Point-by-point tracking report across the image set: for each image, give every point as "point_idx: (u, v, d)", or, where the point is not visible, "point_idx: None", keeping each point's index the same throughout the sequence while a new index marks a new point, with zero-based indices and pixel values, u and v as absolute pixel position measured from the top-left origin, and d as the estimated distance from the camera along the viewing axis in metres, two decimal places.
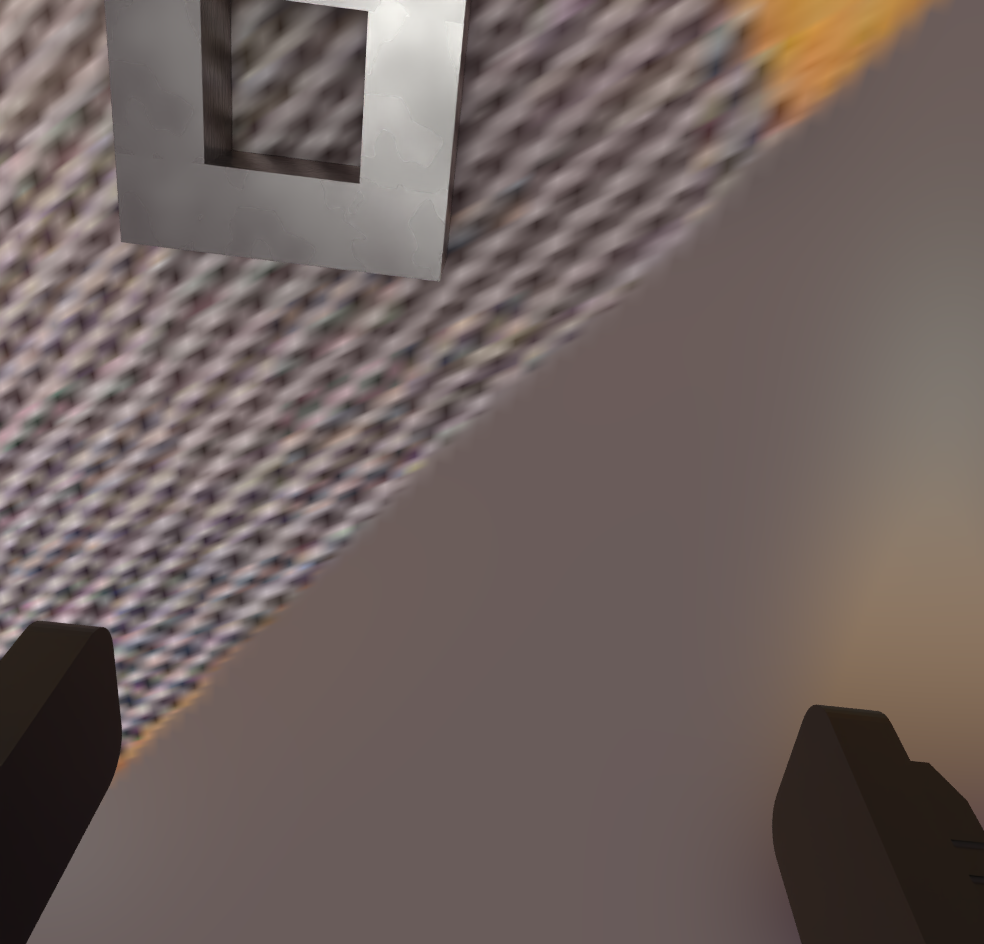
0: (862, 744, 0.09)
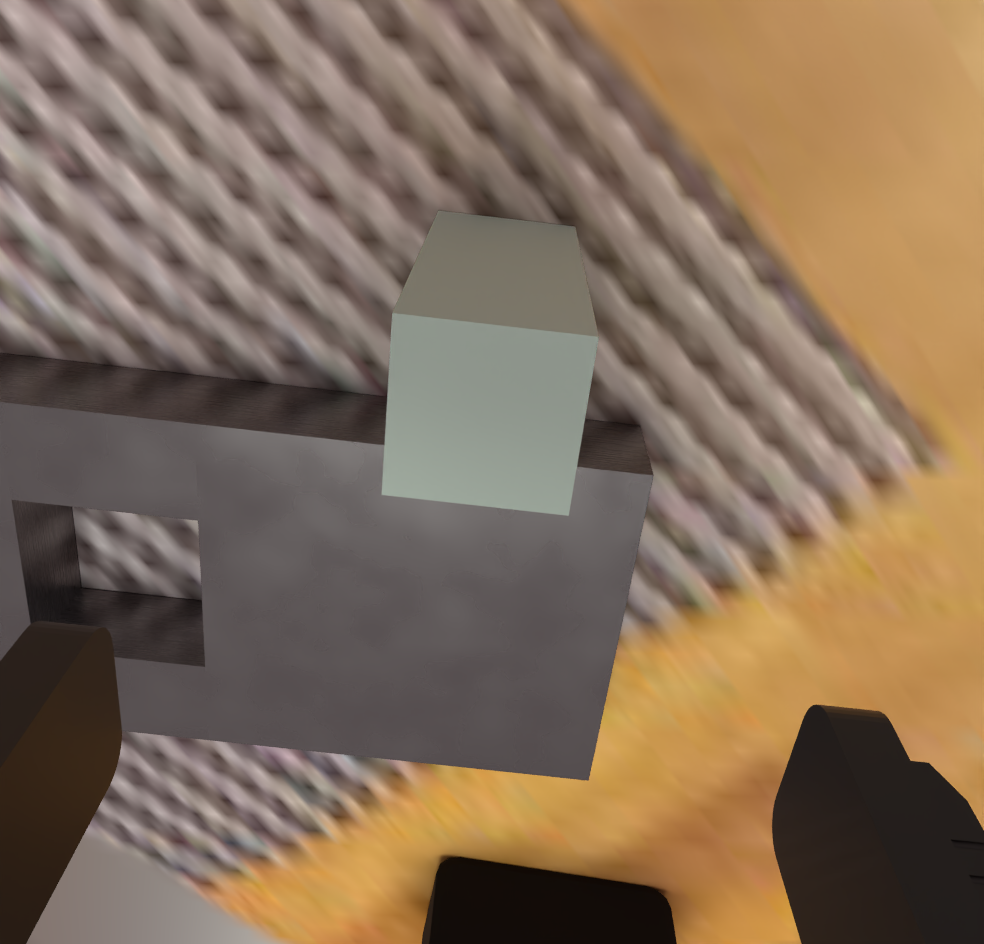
0: (862, 744, 0.09)
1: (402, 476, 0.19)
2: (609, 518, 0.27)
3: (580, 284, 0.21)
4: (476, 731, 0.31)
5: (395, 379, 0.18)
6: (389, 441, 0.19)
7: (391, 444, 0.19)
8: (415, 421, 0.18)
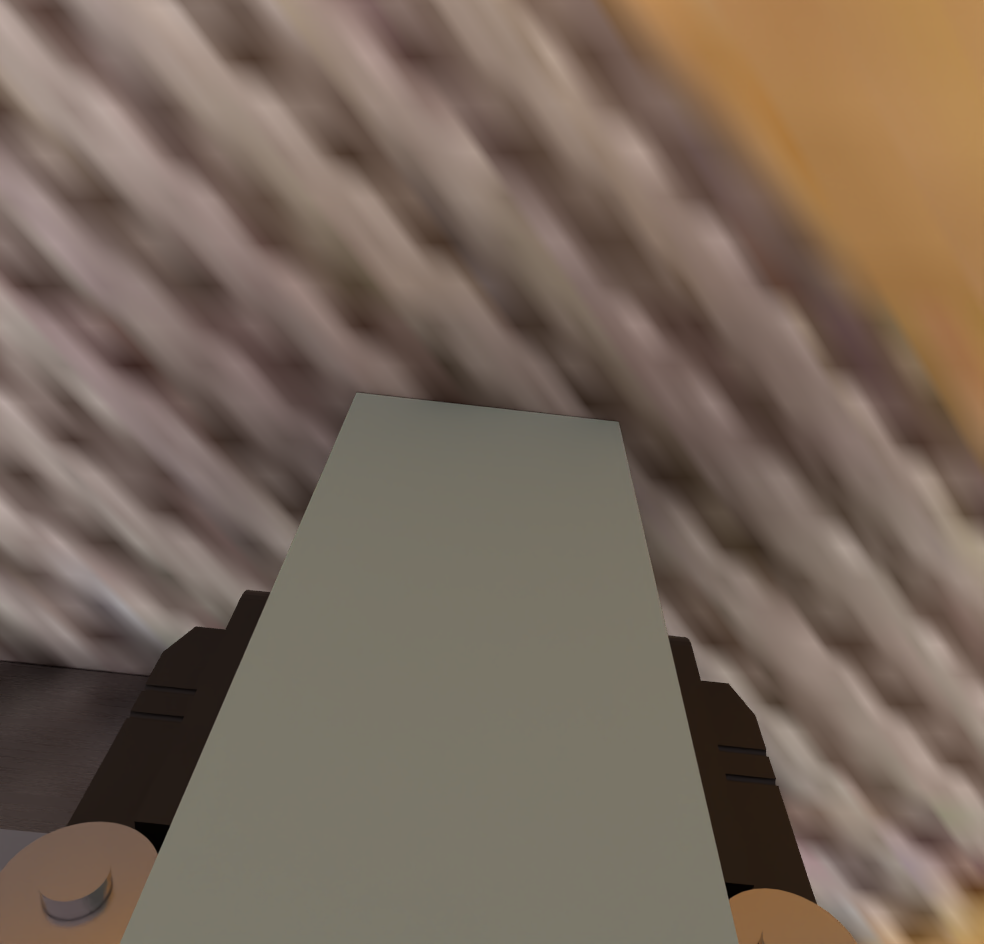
0: None
1: None
2: None
3: (666, 706, 0.08)
4: None
5: None
6: None
7: None
8: None
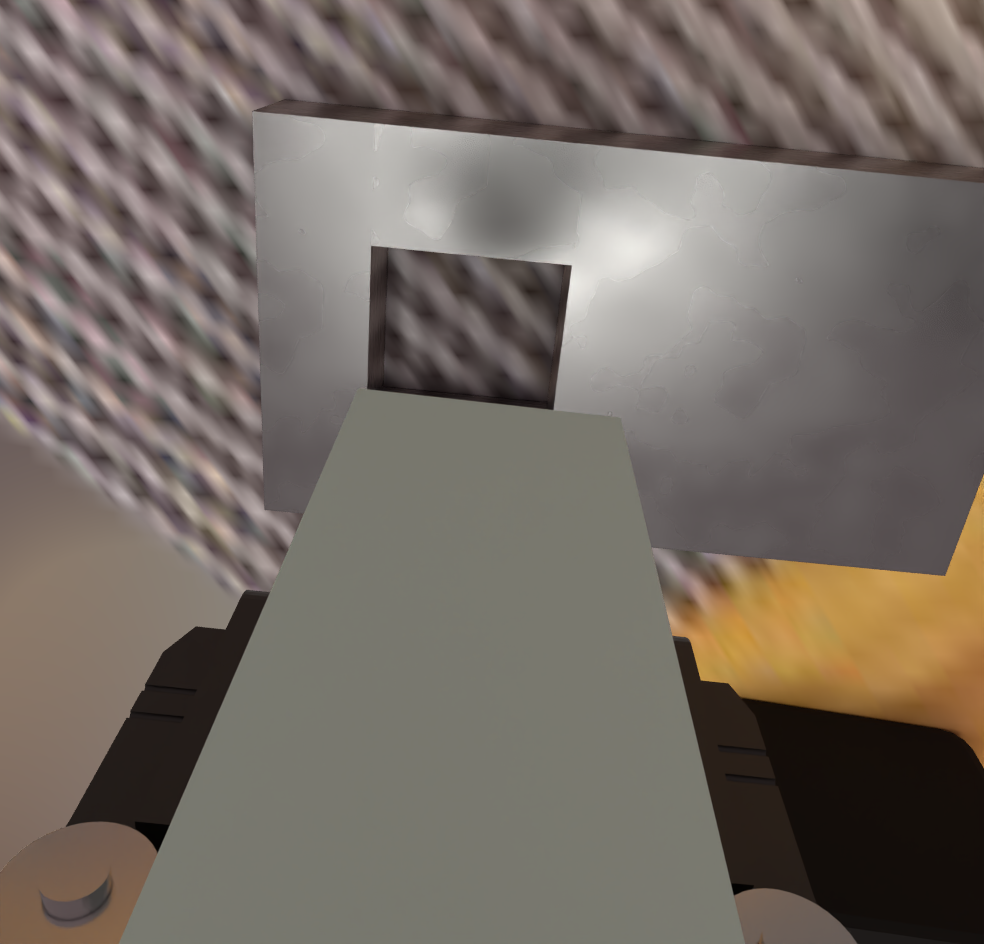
0: None
1: None
2: None
3: (669, 700, 0.08)
4: (831, 519, 0.28)
5: None
6: None
7: None
8: None
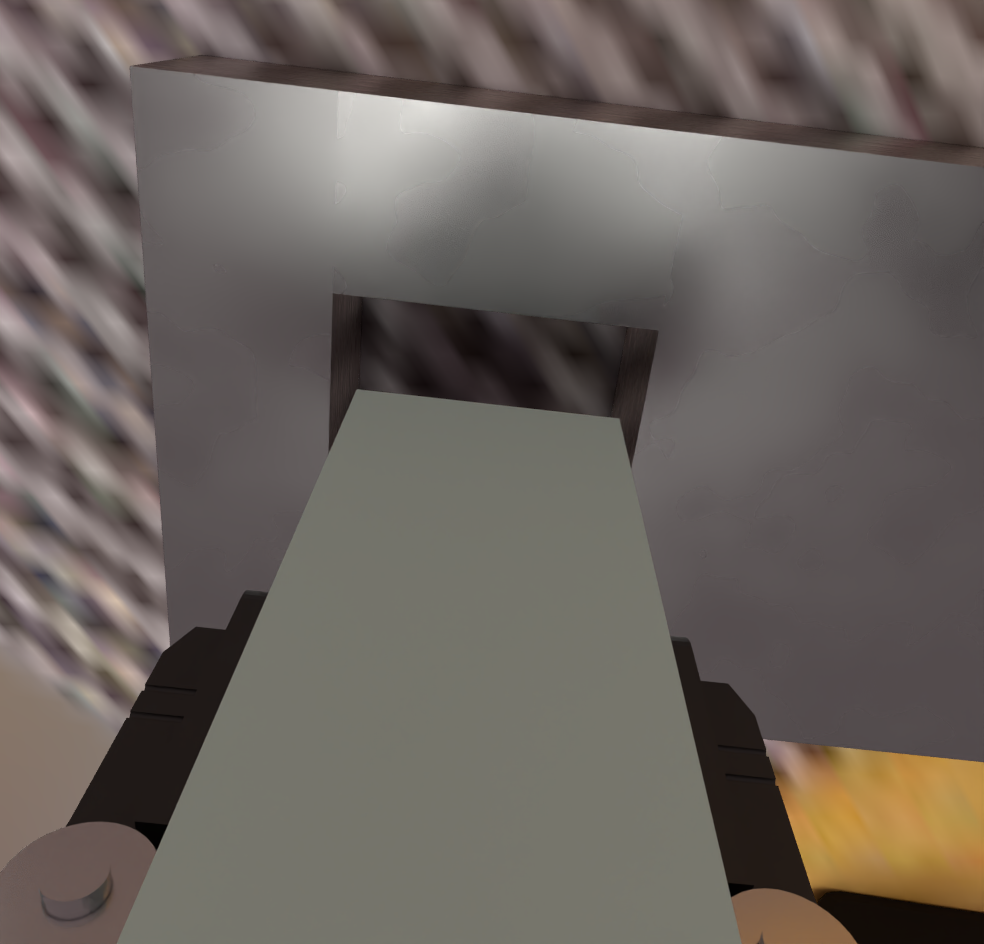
0: None
1: None
2: None
3: (667, 701, 0.08)
4: None
5: None
6: None
7: None
8: None
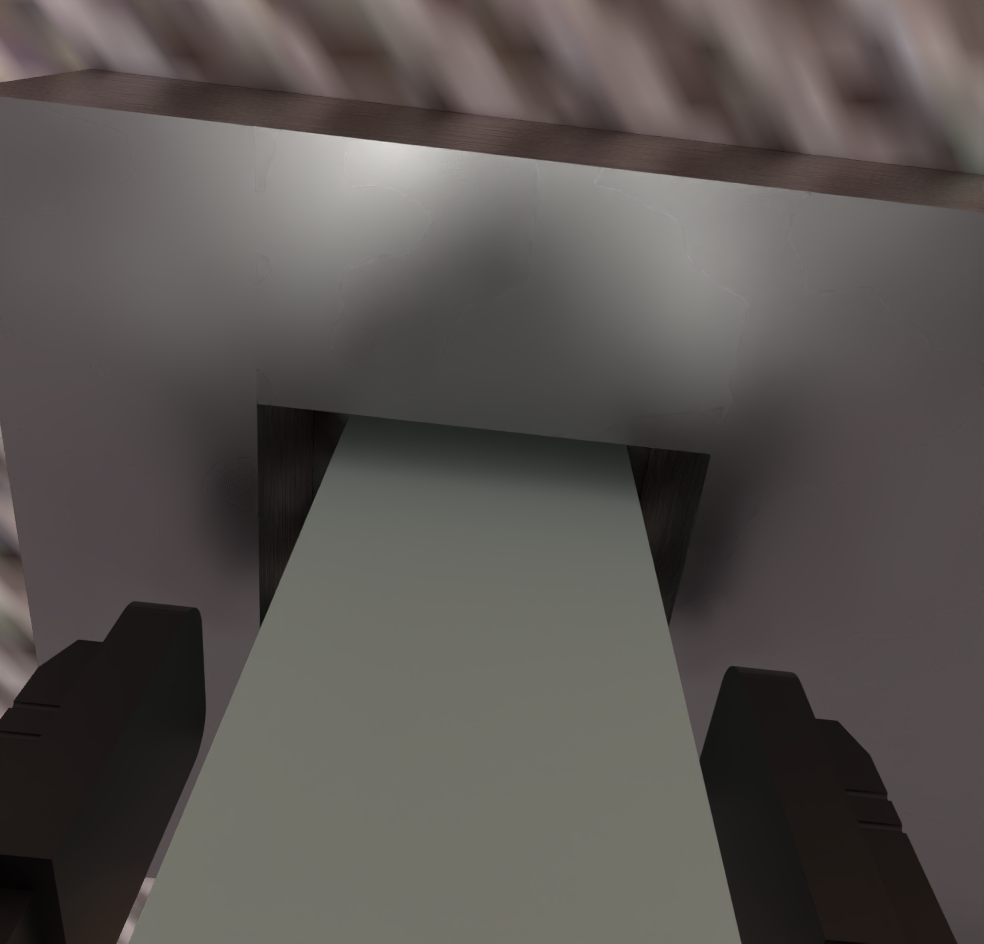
0: (770, 701, 0.10)
1: None
2: None
3: (655, 642, 0.09)
4: None
5: None
6: None
7: None
8: None
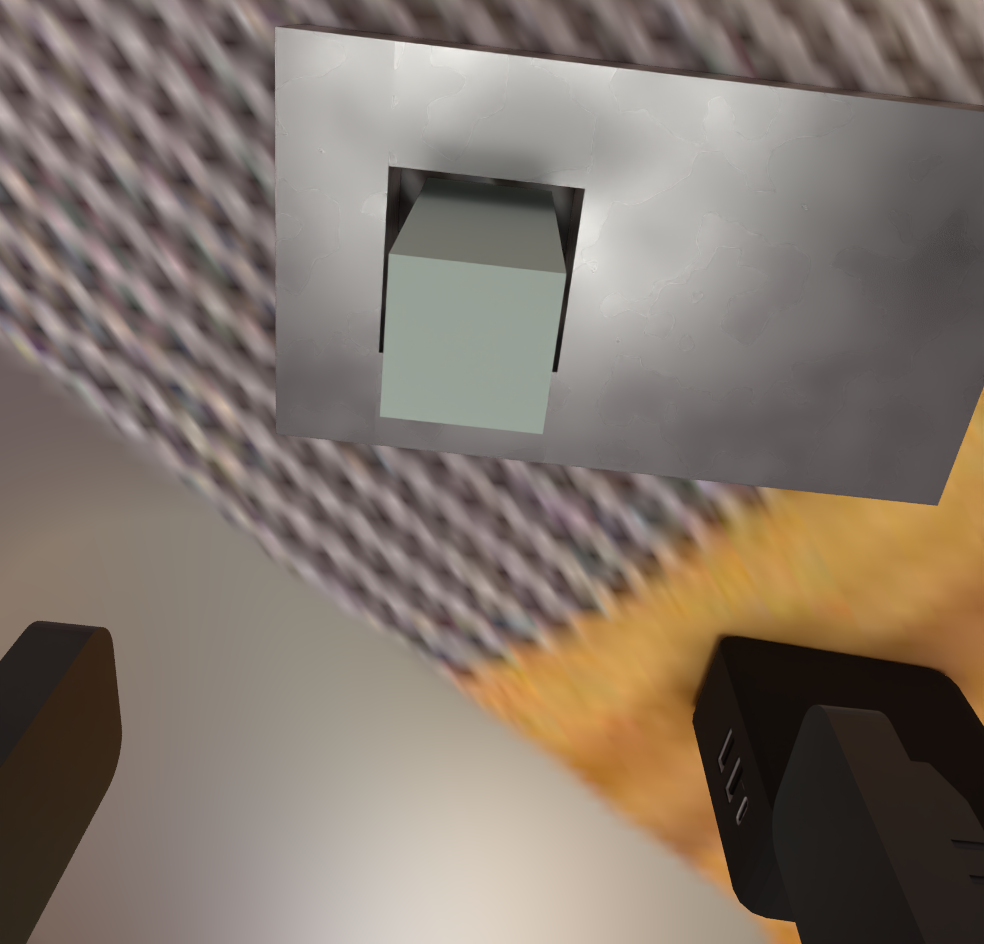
0: (862, 744, 0.09)
1: (398, 399, 0.22)
2: None
3: (553, 235, 0.24)
4: (830, 447, 0.29)
5: (391, 312, 0.21)
6: (386, 368, 0.22)
7: (388, 370, 0.22)
8: (409, 350, 0.21)
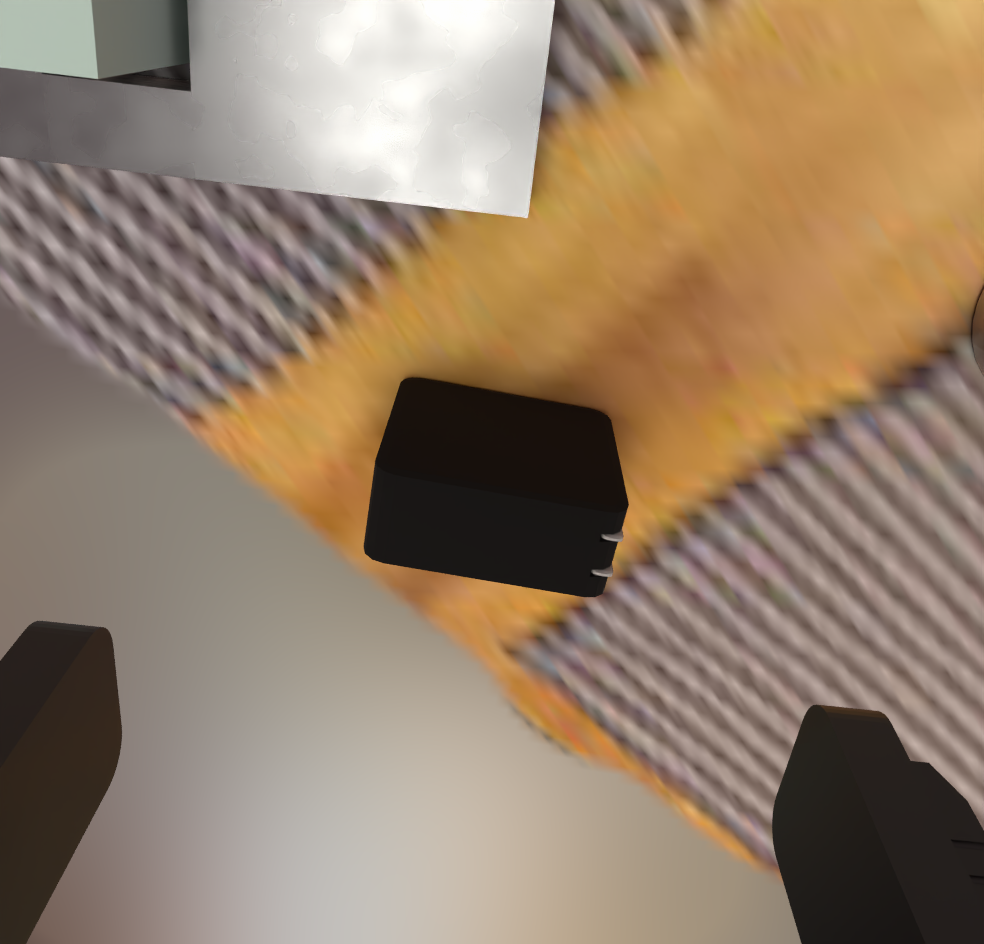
0: (862, 744, 0.09)
1: None
2: None
3: None
4: (428, 162, 0.35)
5: None
6: None
7: None
8: None
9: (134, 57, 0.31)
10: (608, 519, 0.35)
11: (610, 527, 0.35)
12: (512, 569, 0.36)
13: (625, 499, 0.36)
